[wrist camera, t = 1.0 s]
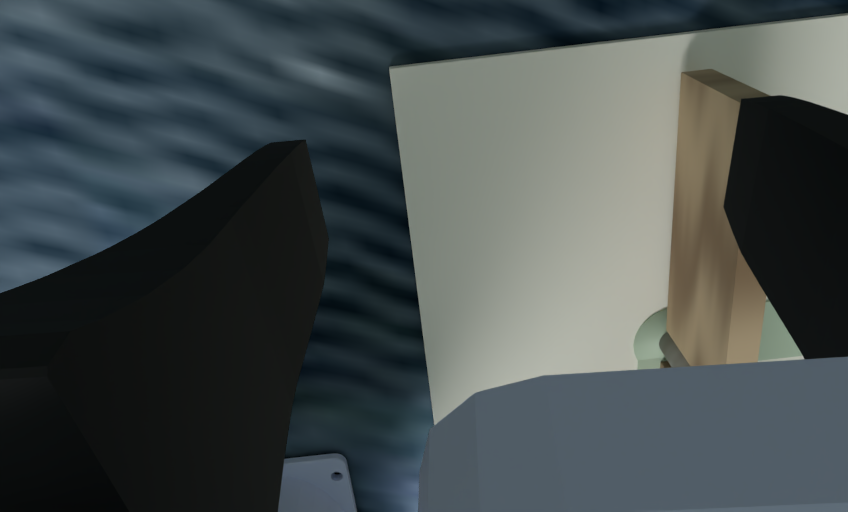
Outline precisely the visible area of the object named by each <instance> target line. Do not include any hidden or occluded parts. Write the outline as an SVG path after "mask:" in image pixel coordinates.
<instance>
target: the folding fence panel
mask: <svg viewBox="0 0 848 512" xmlns="http://www.w3.org/2000/svg"><path fill="white" fill-rule="evenodd" d="M766 96H770V95H768V94H766V93H763V92H761V91H759V90H757V89H755V88H753V87H750V86H748V85H746V84H744V83H742V82H740V81H737V80H735V79H733V78H731V77H729V76H726V75H724V74H722V73H720V72H718V71H716V70H713V69H704V70H696V71H687V72H681V84H680V101H679V118H678V135H677V152H676V169H675V186H674V203H673V220H672V238H671V255H670V272H669V289H668V306H667V323H666V330H667V332H668V333H669V335H670V336H671V338H672V339H673V341H674V342H675V344H676V345H677V347H678V348H679V350H680V351H681V353H682V354H683V356H684V357H685V359H686V360H687V362H688V363H689V365H690V366H704V365H720V364H736V363H753V362H758V356H759V348H760V341H761V333H762V326H763V318H764V310H765V303H766V294H765V293H764V291H763V289H762V288H761V286H760V284H759V283H758V281H757V279H756V278H755V276H754V274H753V273H752V271H751V269H750V268H749V266H748V264H747V263H746V261H745V259H744V257H743V255H742V254H741V252H740V249H739V247H738V244H737V242H736V240H735V237H734V235H733V232H732V230H731V227H730V224H729V221H728V219H727V216H726V213H725V210H724V208H723V205H724V199H725V193H726V187H727V181H728V175H729V169H730V163H731V157H732V151H733V145H734V139H735V133H736V127H737V121H738V115H739V109H740V103H741V99H745V98H756V97H766Z"/></svg>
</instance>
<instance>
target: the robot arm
mask: <svg viewBox="0 0 848 512" xmlns="http://www.w3.org/2000/svg"><path fill="white" fill-rule="evenodd" d="M723 208H724V210H725V213H726V216H727V219H728V221H729V224H730V227H731V230H732V232H733V235H734V237H735V240H736V242H737V244H738V247H739V249H740V252H741V254H742V255H743V257H744V259H745V261H746V263H747V264H748V266H749V268H750V269H751V271H752V273H753V274H754V276H755V278H756V279H757V281H758V283H759V284H760V286H761V288H762V289H763V291H764V293H765V294H766V296H767V298H768V299H769V301H770V303H771V304H772V306H773V307H774V309H775V311H776V312H777V314H778V316H779V317H780V319H781V321H782V322H783V324H784V326H785V327H786V329H787V330H788V332H789V334H790V335H791V337H792V339H793V340H794V342H795V344H796V345H797V347H798V348H799V350H800V352H801V354H802V355H803V357H804V359H801V360H785V361H769V362H753V363H736V364H720V365H704V366H688V367H671V368H655V369H639V370H623V371H606V372H590V373H574V374H558V375H542V376H538V377H534V378H530V379H526V380H522V381H518V382H514V383H510V384H506V385H502V386H498V387H495V388H491V389H487V390H483V391H479V392H476V393H474V394H473V395H472V396H470V397H469V398H468V399H467V400H465V401H464V402H463V403H462V404H460V405H459V406H458V407H457V408H456V409H454V410H453V411H452V412H451V413H449V414H448V415H447V416H446V417H444V418H443V419H442V420H441V421H439V422H438V423H437V424H436V425H434V426H433V427H432V428H431V429H430V430H429V434H428V438H427V442H426V447H425V451H424V455H423V459H422V464H421V468H420V475H419V503H418V512H848V115H847V114H844V113H841V112H839V111H836V110H833V109H830V108H827V107H824V106H821V105H818V104H815V103H812V102H808V101H805V100H801V99H798V98H793V97H788V96H783V95H777V96H766V97H756V98H745V99H741V103H740V109H739V115H738V121H737V127H736V133H735V139H734V145H733V151H732V157H731V163H730V169H729V175H728V181H727V187H726V193H725V199H724V205H723ZM328 241H329V238H328V233H327V229H326V225H325V221H324V216H323V212H322V208H321V204H320V199H319V195H318V191H317V186H316V182H315V178H314V174H313V169H312V165H311V161H310V157H309V152H308V148H307V144H306V140H295V141H285V142H274V143H270V144H267V145H265V146H264V147H262V148H260V149H259V150H257V151H256V152H254V153H253V154H251V155H250V156H249V157H247V158H246V159H244V160H243V161H242V162H240V163H239V164H238V165H236V166H235V167H234V168H232V169H231V170H230V171H228V172H227V173H225V174H224V175H223V176H221V177H220V178H219V179H217V180H216V181H215V182H213V183H212V184H211V185H209V186H208V187H207V188H205V189H204V190H202V191H201V192H200V193H198V194H197V195H195V196H194V197H192V198H191V199H189V200H188V201H186V202H185V203H183V204H182V205H180V206H179V207H177V208H176V209H174V210H173V211H171V212H170V213H168V214H167V215H165V216H164V217H162V218H161V219H159V220H158V221H156V222H154V223H153V224H151V225H149V226H148V227H146V228H144V229H142V230H141V231H139V232H137V233H136V234H134V235H132V236H130V237H128V238H126V239H124V240H122V241H121V242H119V243H117V244H115V245H113V246H111V247H109V248H107V249H105V250H103V251H101V252H99V253H97V254H95V255H93V256H90V257H88V258H86V259H84V260H81V261H79V262H77V263H75V264H72V265H70V266H68V267H66V268H63V269H61V270H59V271H57V272H54V273H52V274H50V275H48V276H45V277H43V278H40V279H38V280H35V281H32V282H30V283H27V284H24V285H22V286H19V287H16V288H14V289H11V290H8V291H5V292H2V293H0V512H357V508H356V503H355V498H354V493H353V489H352V484H351V479H350V474H349V469H348V464H347V460H346V458H345V457H344V456H343V455H341V454H337V453H332V454H323V455H314V456H305V457H297V458H288V459H284V458H285V451H286V444H287V437H288V430H289V424H290V417H291V410H292V404H293V400H294V395H295V391H296V386H297V382H298V378H299V375H300V371H301V367H302V364H303V360H304V356H305V353H306V349H307V345H308V342H309V338H310V335H311V331H312V327H313V324H314V320H315V316H316V312H317V309H318V305H319V301H320V297H321V293H322V289H323V285H324V279H325V270H326V262H327V251H328ZM334 472H340V473H341V474H334Z"/></svg>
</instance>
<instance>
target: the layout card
mask: <svg viewBox="0 0 848 512" xmlns="http://www.w3.org/2000/svg"><path fill="white" fill-rule="evenodd" d="M704 69H713V70H716V71H718V72H720V73H722V74H724V75H726V76H729V77H731V78H733V79H735V80H737V81H740V82H742V83H744V84H746V85H748V86H750V87H753V88H755V89H757V90H759V91H761V92H763V93H766V94H768V95H770V96H777V95H783V96H788V97H793V98H798V99H801V100H805V101H808V102H812V103H815V104H818V105H821V106H824V107H827V108H830V109H833V110H836V111H839V112H841V113H844V114H847V115H848V13H844V14H835V15H826V16H818V17H809V18H801V19H792V20H784V21H775V22H767V23H758V24H750V25H741V26H732V27H724V28H715V29H707V30H698V31H690V32H681V33H673V34H664V35H656V36H647V37H638V38H630V39H621V40H613V41H604V42H596V43H587V44H579V45H570V46H562V47H553V48H544V49H536V50H527V51H519V52H510V53H502V54H493V55H485V56H476V57H468V58H459V59H450V60H442V61H433V62H425V63H416V64H408V65H399V66H391V67H389V72H390V80H391V88H392V96H393V104H394V112H395V120H396V127H397V135H398V143H399V151H400V159H401V167H402V175H403V182H404V190H405V198H406V206H407V214H408V222H409V230H410V238H411V245H412V253H413V261H414V269H415V277H416V285H417V293H418V300H419V308H420V316H421V324H422V332H423V340H424V348H425V355H426V363H427V371H428V379H429V387H430V395H431V403H432V410H433V418H434V425H436V424H437V423H438V422H439V421H441V420H442V419H443V418H444V417H446V416H447V415H448V414H449V413H451V412H452V411H453V410H454V409H456V408H457V407H458V406H459V405H460V404H462V403H463V402H464V401H465V400H467V399H468V398H469V397H470V396H472V395H473V394H474V393H476V392H479V391H483V390H487V389H491V388H495V387H498V386H502V385H506V384H510V383H514V382H518V381H522V380H526V379H530V378H534V377H538V376H542V375H558V374H574V373H590V372H606V371H623V370H639V369H655V368H660V362H663V361H667V359H666V357H665V356H664V354H663V353H662V351H661V349H660V347H659V341H660V339H661V337H662V336H663V335H664V334H665V333H666V332H667V330H666V323H667V306H668V289H669V272H670V255H671V238H672V220H673V203H674V186H675V169H676V152H677V135H678V118H679V101H680V84H681V72H687V71H696V70H704ZM801 359H804V357H803V355H802V354H801V352H800V350H799V348H798V347H797V345H796V344H795V342H794V340H793V339H792V337H791V335H790V334H789V332H788V330H787V329H786V327H785V326H784V324H783V322H782V321H781V319H780V317H779V316H778V314H777V312H776V311H775V309H774V307H773V306H772V304H771V303H770V301H769V299H768V298H767V296H766V303H765V310H764V318H763V326H762V333H761V341H760V348H759V356H758V362H769V361H785V360H801Z"/></svg>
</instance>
